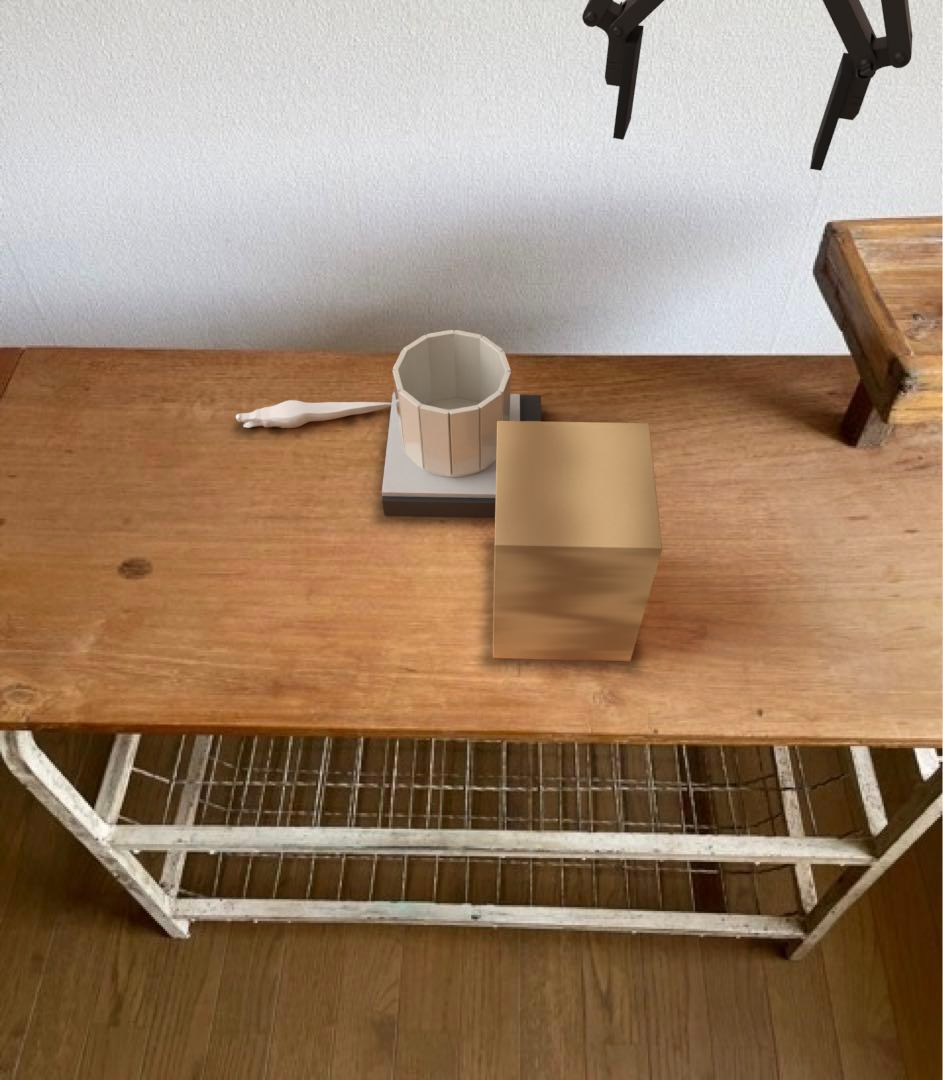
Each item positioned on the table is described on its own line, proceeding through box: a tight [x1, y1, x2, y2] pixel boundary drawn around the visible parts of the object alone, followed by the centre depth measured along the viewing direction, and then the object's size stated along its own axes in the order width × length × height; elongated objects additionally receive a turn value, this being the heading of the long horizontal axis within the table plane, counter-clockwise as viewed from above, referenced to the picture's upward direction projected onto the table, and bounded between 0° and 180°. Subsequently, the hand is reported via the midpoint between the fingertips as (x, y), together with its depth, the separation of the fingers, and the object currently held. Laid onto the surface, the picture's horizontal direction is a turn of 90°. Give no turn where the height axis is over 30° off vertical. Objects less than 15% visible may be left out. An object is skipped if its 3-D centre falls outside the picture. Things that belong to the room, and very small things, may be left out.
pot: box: [392, 329, 512, 477], centre depth 79 cm, size 10×10×8 cm
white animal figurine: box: [235, 399, 392, 429], centre depth 87 cm, size 15×3×2 cm, turn 98°
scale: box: [381, 391, 542, 519], centre depth 84 cm, size 14×13×3 cm
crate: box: [492, 421, 663, 662], centre depth 70 cm, size 11×11×16 cm
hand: (717, 144), depth 64 cm, fingers open, 13 cm apart
